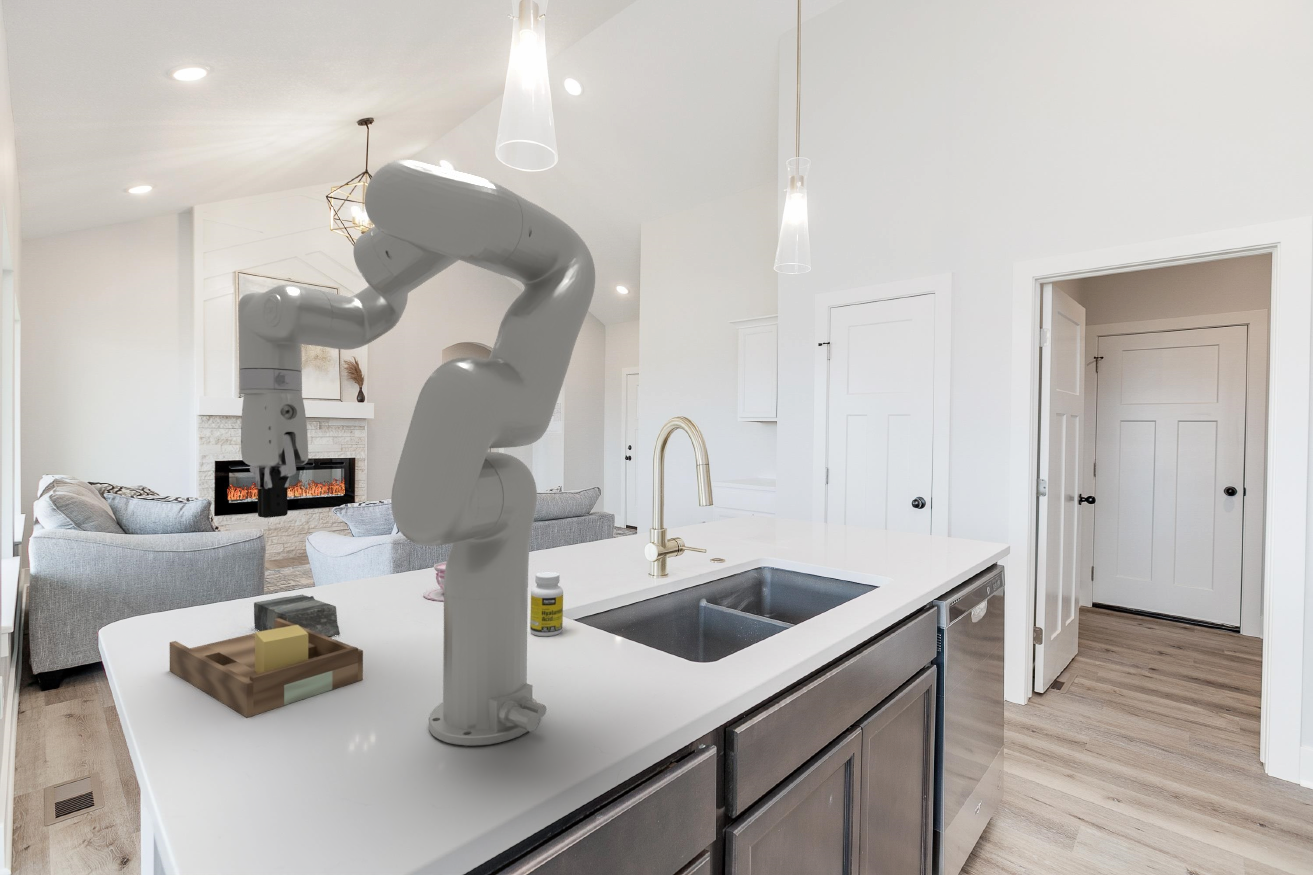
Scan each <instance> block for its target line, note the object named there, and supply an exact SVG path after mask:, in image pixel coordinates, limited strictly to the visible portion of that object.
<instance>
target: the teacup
mask: <svg viewBox="0 0 1313 875" xmlns="http://www.w3.org/2000/svg"><path fill="white" fill-rule="evenodd" d="M446 562H447V560H446V561H441V562H438V563H435V564H434V565H433V568H434V569H433V570H435V572H436V573H435V575H436V576H435V579H436V583H437V585H438V586H436V587H432V588H429V589H426V590H425V591H424V592H423V597H424V598H425V599H427V600H431V601H438V602H444V576H445V567H446Z"/></svg>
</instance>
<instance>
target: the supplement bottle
mask: <svg viewBox="0 0 1313 875" xmlns="http://www.w3.org/2000/svg"><path fill="white" fill-rule="evenodd" d="M560 581H561V580H560V573H558V572H554V571H542V572H537V573H536V574H535V586H533V588H532V589H531V590H530V622H529V624H530V625H529V630H530V633H531V634H532V635H535V636H538V637H551V636H552V637H553V636H557V635H559V634H561V632H563V624H564V623H563V622H564V621H563V620H564V610H563V609H564V590H563V588H562V587H561V586H560V585H559V584H560Z"/></svg>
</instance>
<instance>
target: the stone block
mask: <svg viewBox="0 0 1313 875" xmlns="http://www.w3.org/2000/svg"><path fill="white" fill-rule="evenodd" d="M277 618H280V619H282V620H285V621H288V622H290V623H293V624H295V625H299V626H301V627H303V628H306V629H308V630H311V631H314V632H316V633H319V634H322V635H324V636H327V637H332V636H333V637H336V636H335V635H338V636H339V635H340V634H341V632H340V628H339V625H338V624H339V623H338V615H337V607H336V605H334V604H331V603H327V602H325V601H324V602H323V601H321V600H318V599H315V597H314V595H311V596H308V595H305V594H299V595H297V594H296V595H290V596H285V597H284V596H282V597H277V598H273V599H267V600H261V601H255V602H253V620H254V621H253V622H254V623H253V624H254V629H255V630H257V631H258V630H259V631H258V632H260V631H265V630H270V629H274V619H277Z"/></svg>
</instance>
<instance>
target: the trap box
mask: <svg viewBox="0 0 1313 875" xmlns="http://www.w3.org/2000/svg"><path fill="white" fill-rule="evenodd" d="M293 625H295V624H293V623H290V622H288V621H285V620H282V619H280V618H277V619H274V629H276V628H282V627H288V626H293ZM300 627H301V626H300ZM301 628H302V629H303V630H305V631H306V632H307V633H308V660H304V661H301V662H297V663H294V664H290V665H287V666H283V667H280V668H276V669H272V670H269V671H265V672H262V673H258V674H257V672H256V671H255V632H254V633H249V634H245V635H242V636H241V635H240V636H236V637H233V638H228V639H223V640H221V641H216V642H211V643H210V642H209V643H207V644H206V643H205V644H203V645H199V646H194V647H188V646H187V645H184V644H182V643H181V642H178V641H177V640H175V641H173V640H172V641H170V642H169V672H171V673H172V674H174V675H176V676H178V677H179V678H181V679H183V681H185V682H188V683H189V684H191V685H192V686H194V687H196V688H197V689H199V690H201V691H202V692H204V693H205V694H207V695H209V697H212V698H213V699H215V700H217V701H218V702H221V704H223V705H225V706H227V707H229V708H230V709H232V710H234V711H235V712H237V713H238V714H240V715H242V716H244V717H245V718H251V717H253V716H256V715H259V714H262V713H265V712H268V711H271V710H275V709H278V708H281V707H284V706H286V705H289V704H293V703H295V702H298V701H301V700H304V699H308V698H310V697H315V696H317V695H320V694H324V693H326V692H327V693H328V692H329V691H333V690H335V689H339V688H341V687H344V686H348V685H351V684H353V683H357V682H361V681H362V680H364V673H363V672H364V650H363V649H362V648H358V647H356V646H353V645H350V644H348V643H345V642H342V641H339V640H337V639H335V638H332V637H330V636H328V637H327V636H324V635H322V634H319V633H316V632H314V631H311V630H308V629H306V628H303V627H301ZM270 630H271V629H270Z"/></svg>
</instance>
